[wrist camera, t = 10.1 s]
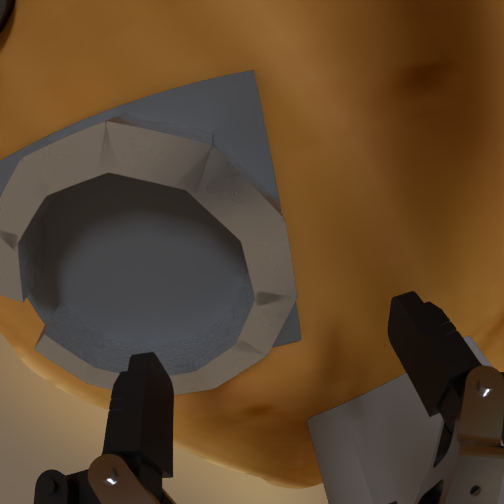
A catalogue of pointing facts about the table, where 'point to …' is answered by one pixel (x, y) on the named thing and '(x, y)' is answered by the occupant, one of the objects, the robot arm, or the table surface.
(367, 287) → the table surface
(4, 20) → the peg stand
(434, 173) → the table surface
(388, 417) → the tall grey upright block
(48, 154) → the steel ring
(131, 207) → the rubber mat
